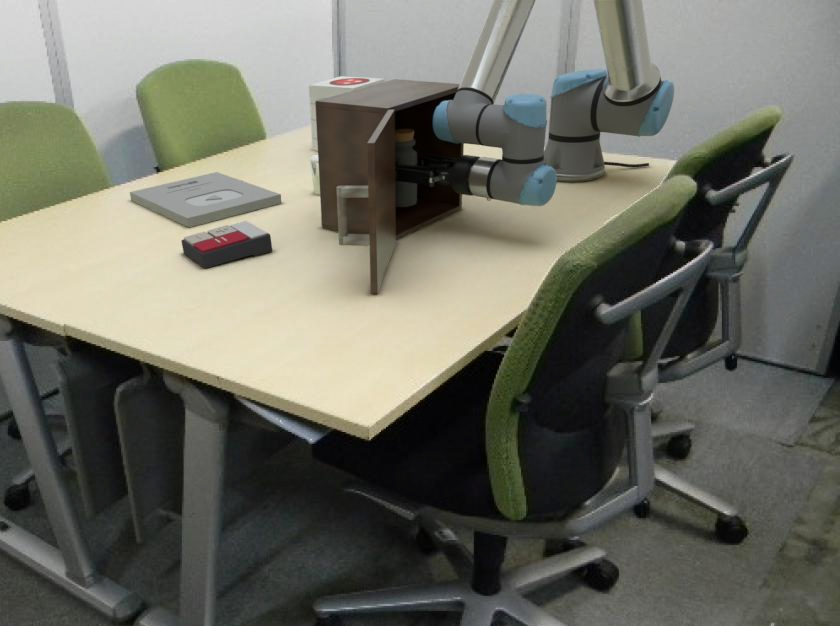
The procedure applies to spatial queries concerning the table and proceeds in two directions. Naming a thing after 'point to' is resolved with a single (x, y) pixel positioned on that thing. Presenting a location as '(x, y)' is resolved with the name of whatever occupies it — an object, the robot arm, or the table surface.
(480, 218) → the table surface
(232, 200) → the award plaque
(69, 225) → the table surface
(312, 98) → the pizza boxes
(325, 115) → the cupboard
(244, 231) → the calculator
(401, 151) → the bottle
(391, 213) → the cupboard door
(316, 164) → the milkshake
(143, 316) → the table surface
